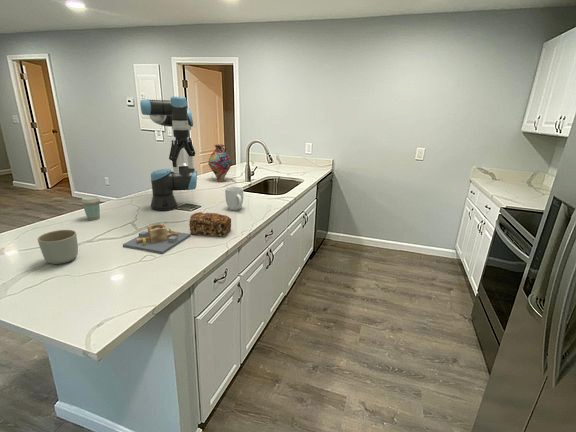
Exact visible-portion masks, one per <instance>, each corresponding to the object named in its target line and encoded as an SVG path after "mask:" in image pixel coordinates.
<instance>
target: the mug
mask: <svg viewBox="0 0 576 432" xmlns="http://www.w3.org/2000/svg"><path fill="white" fill-rule="evenodd" d="M224 191H225V194H224V195H225V203H226V205H227V208H228V210H230V211H240V209H241V208H242V206H243V203H244V188H243V187H241V186H228V187H225V188H224Z"/></svg>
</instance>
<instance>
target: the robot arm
mask: <svg viewBox="0 0 576 432" xmlns="http://www.w3.org/2000/svg"><path fill="white" fill-rule="evenodd" d="M139 104H140V111H141V114H142V115H143V116H149V119H150V120H151V121H152V122H153V123H155V124H157V125H159V126H164V127H171V129H172V135H173V137H174V138H175V139H171V145H170V146H171V147H170V152H169V155H168V156H169V157H168V159H169V161H171V162H172V168H173V170H171V168H163V169H156V170H153V171H152V172H151V174H150V182H151V190H152V191H151V193H152V198H151V203H150V209H151V210H152V211H155V212H167V211H173V210H175V209H177V207H178V203H177V199H176V198H175V196H174V192H175V191H192V190H196V189H197V183H198V182H197V181H198V171H197V170H195V167H194V157H196V151H195V148H194V144H193V143H192V138H191V137H190V131H191V130H192V127H194V121H193V120H194V119H193V115H192V111H191V109H190V108H188V102H187V97H185V96H171V97H170V99H166V100H165V99H140V103H139Z"/></svg>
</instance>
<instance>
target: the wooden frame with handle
mask: <svg viewBox="0 0 576 432" xmlns="http://www.w3.org/2000/svg"><path fill="white" fill-rule="evenodd" d="M154 228H159V229H154ZM167 230H168V229H167V226H166V225H165V223H158V224H157V223H156V224H151V225H147V232H148V235H149V236H148V237H142V238H136V237H135V238H136V239H137V243H143V238H145V239H146V242H150V241H151V243H155V242H161V241H166V240H168V238H169V237H171V236H176V237H178V236H179V235H178V232H179V231H175V232H172V233H167Z"/></svg>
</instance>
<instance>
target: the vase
mask: <svg viewBox="0 0 576 432" xmlns="http://www.w3.org/2000/svg"><path fill="white" fill-rule="evenodd" d="M214 147H215V149H214V151H212V153H211V154H210V156H209V157H208V160H207V161H208V162H207V163H208V166H209V168H210V170H211V171H212V172H213V174H214V175H215V177H216V180H215V182H216V183H225V182H226V179H225V178H226V175H227V174H228V173H229V171H230V168H231V166H232V164H233V163H232V159H231V156H230V154H229V153H227V152H226V150H224V147H225V144H214Z"/></svg>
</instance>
